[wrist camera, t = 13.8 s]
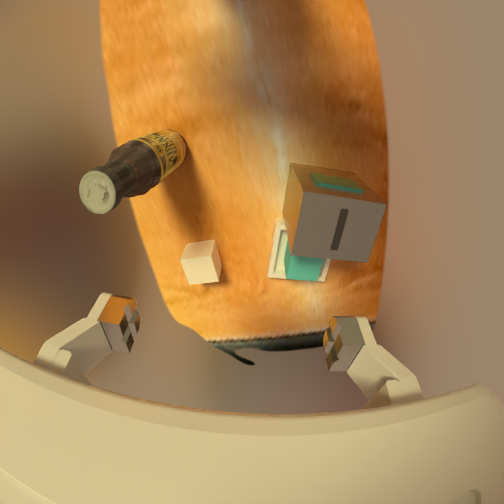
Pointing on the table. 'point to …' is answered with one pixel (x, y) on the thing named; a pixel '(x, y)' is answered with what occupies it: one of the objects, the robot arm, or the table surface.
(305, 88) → the table surface
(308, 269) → the teal block
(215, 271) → the cream block
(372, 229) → the dispenser
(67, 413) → the robot arm
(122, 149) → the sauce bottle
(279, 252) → the tray
